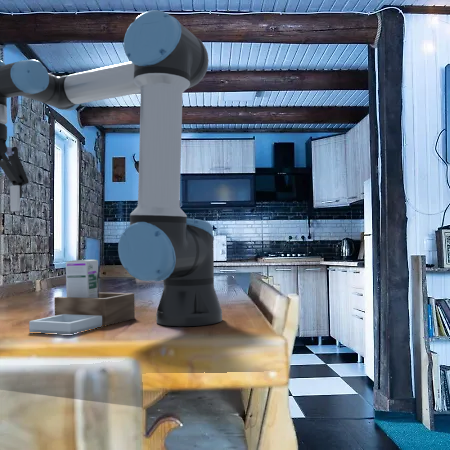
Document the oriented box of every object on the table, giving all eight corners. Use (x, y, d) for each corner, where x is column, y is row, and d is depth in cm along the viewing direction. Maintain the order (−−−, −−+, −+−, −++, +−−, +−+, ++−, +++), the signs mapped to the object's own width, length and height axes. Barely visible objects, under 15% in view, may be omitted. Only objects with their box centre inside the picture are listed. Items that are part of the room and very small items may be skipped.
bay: (134, 318, 121) (134, 293, 122) (105, 326, 110) (105, 298, 111) (86, 315, 127) (86, 292, 127) (54, 323, 116) (54, 297, 116)
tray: (102, 327, 109) (102, 315, 109) (70, 335, 99) (70, 323, 100) (63, 325, 113) (63, 313, 113) (29, 333, 103) (29, 321, 103)
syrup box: (89, 322, 117) (88, 260, 117) (65, 321, 118) (65, 260, 118) (99, 318, 122) (99, 259, 123) (77, 318, 123) (77, 259, 124)
